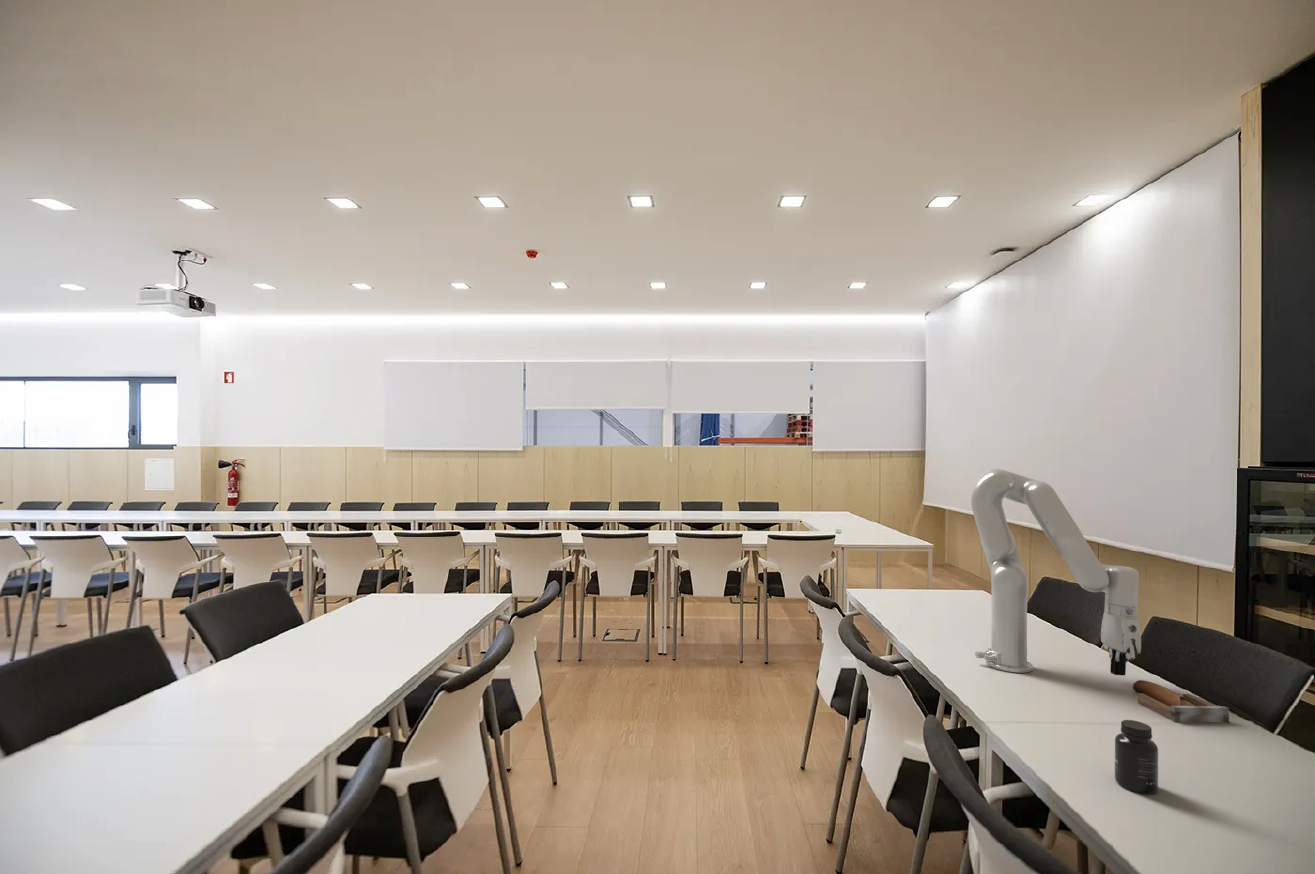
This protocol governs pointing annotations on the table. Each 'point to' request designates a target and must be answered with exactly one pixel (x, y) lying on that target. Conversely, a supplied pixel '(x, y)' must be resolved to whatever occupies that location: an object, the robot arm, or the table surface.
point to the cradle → (1187, 710)
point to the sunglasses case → (1160, 693)
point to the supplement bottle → (1136, 758)
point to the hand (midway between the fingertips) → (1117, 673)
